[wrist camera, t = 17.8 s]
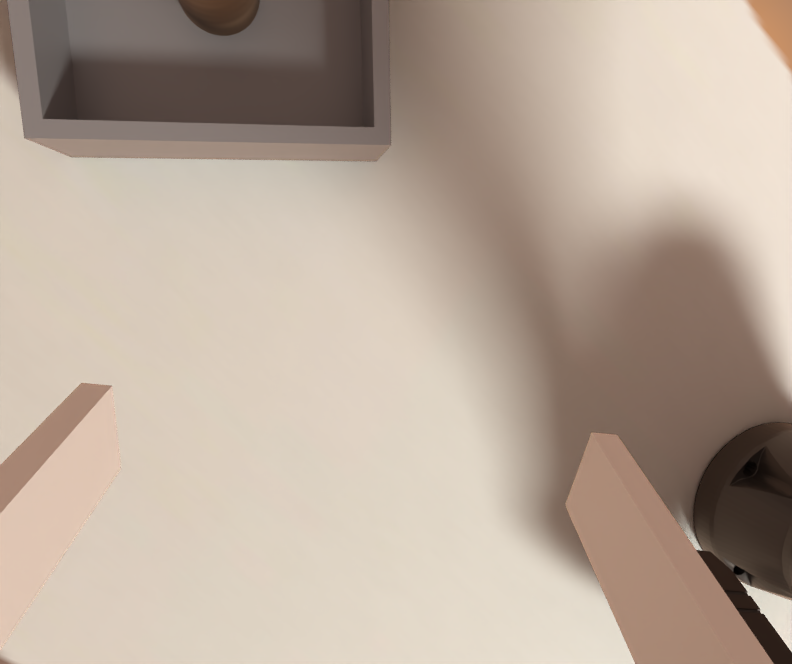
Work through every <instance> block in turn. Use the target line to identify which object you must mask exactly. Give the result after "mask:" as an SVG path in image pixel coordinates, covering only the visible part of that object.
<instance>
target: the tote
mask: <svg viewBox="0 0 792 664" xmlns="http://www.w3.org/2000/svg"><path fill="white" fill-rule="evenodd" d="M7 4H8V12H9V20H10V28H11V36H12V44H13V52H14V60H15V68H16V76H17V84H18V92H19V99H20V107H21V115H22V123H23V131H24V138H25V139H28V140H30V141H33V142H35V143H38V144H40V145H43V146H45V147H48V148H50V149H53V150H55V151H57V152H60V153H62V154H65V155H67V156H70V157H98V158H171V159H245V160H319V161H377V160H378V159H379V158H380V157H381V156H382V155H383V154H384V152H385V151H386V150H387V149H388V148H389V147H390V146H391V106H390V48H389V0H260V1H259V8H258V12H257V14H256V16H255V18H254V20H253V21H252V23H251V24H250V25H249V26H248V27H247V28H246V29H244V30H243V31H241V32H239V33H237V34H234V35H229V36H219V35H214V34H211V33H208V32H206V31H204V30H202V29H200V28H199V27H197V26H196V25H195V24H194V23H193V22H192V21H191V20H190V19H189V18H188V17H187V15H186V14H185V12H184V11H183V9H182V7H181V5H180V3H179V0H7Z"/></svg>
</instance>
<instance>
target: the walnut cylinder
mask: <svg viewBox="0 0 792 664" xmlns="http://www.w3.org/2000/svg"><path fill="white" fill-rule="evenodd" d="M259 1H260V0H179V3H180V5H181V7H182V9H183V11H184V12H185V14H186V15H187V17H188V18H189V19H190V20H191V21H192V22H193V23H194V24H195V25H196V26H197V27H199V28H200V29H202V30H204V31H206V32H208V33H211V34H214V35H219V36H229V35H234V34H237V33H239V32H241V31H243V30H244V29H246V28H247V27H248V26H249V25H250V24H251V23H252V21H253V20H254V18H255V16H256V14H257V12H258V8H259Z"/></svg>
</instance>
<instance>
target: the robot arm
mask: <svg viewBox="0 0 792 664" xmlns="http://www.w3.org/2000/svg"><path fill="white" fill-rule="evenodd" d="M120 470H121V462H120V453H119V444H118V435H117V426H116V417H115V408H114V399H113V390H112V386H108V385H98V384H88V383H81V384H80V385H79V386H78V387H77V388H76V389H75V390H74V391H73V392H72V393H71V394H70V395H69V396H68V397H67V398H66V399H65V400H64V401H63V402H62V403H61V404H60V405H59V406H58V407H57V408H56V409H55V410H54V411H53V412H52V413H51V414H50V415H49V416H48V417H47V418H46V419H45V420H44V421H43V423H42V424H41V425H40V426H39V427H38V428H37V429H36V430H35V431H34V432H33V433H32V434H31V435H30V436H29V437H28V438H27V439H26V440H25V441H24V442H23V443H22V444H21V445H20V446H19V447H18V448H17V449H16V450H15V451H14V452H13V453H12V454H11V455H10V456H9V457H8V458H7V459H6V460H5V461H4V462H3V463H2V464H1V465H0V650H1V649H2V647H3V646H4V644H5V643H6V641H7V640H8V638H9V637H10V635H11V634H12V632H13V631H14V629H15V628H16V626H17V625H18V623H19V622H20V620H21V619H22V617H23V616H24V614H25V613H26V611H27V610H28V608H29V607H30V605H31V604H32V602H33V601H34V599H35V598H36V596H37V595H38V593H39V591H40V590H41V588H42V587H43V585H44V584H45V582H46V581H47V579H48V578H49V576H50V575H51V573H52V572H53V570H54V569H55V567H56V566H57V564H58V563H59V561H60V560H61V558H62V557H63V555H64V554H65V552H66V551H67V549H68V548H69V546H70V545H71V543H72V542H73V540H74V539H75V537H76V536H77V534H78V533H79V531H80V530H81V528H82V527H83V525H84V524H85V522H86V521H87V519H88V518H89V516H90V515H91V513H92V512H93V510H94V509H95V507H96V506H97V504H98V503H99V501H100V500H101V498H102V497H103V495H104V494H105V492H106V491H107V489H108V488H109V486H110V485H111V483H112V482H113V480H114V479H115V477H116V476H117V474H118V473H119V471H120ZM565 507H566V509H567V511H568V513H569V516H570V518H571V520H572V522H573V525H574V527H575V529H576V531H577V534H578V536H579V538H580V540H581V543H582V545H583V547H584V549H585V552H586V554H587V556H588V558H589V561H590V563H591V565H592V567H593V570H594V572H595V574H596V576H597V579H598V581H599V583H600V585H601V588H602V590H603V592H604V594H605V597H606V599H607V601H608V603H609V606H610V608H611V610H612V612H613V614H614V617H615V619H616V621H617V623H618V626H619V628H620V630H621V632H622V635H623V637H624V639H625V641H626V644H627V646H628V648H629V650H630V653H631V655H632V657H633V659H634V662H635V664H792V652H791V651H790V650H789V648H788V647H787V645H786V644H785V643H784V641H783V640H782V639H781V637H780V636H779V635H778V633H777V632H776V630H775V629H774V628H773V626H772V625H771V624H770V622H769V621H768V619H767V618H766V617H765V615H764V614H761V613H760V608H759V607H758V606H757V604H756V603H755V602H754V600H753V599H752V597H751V596H748V595H747V591H746V589H745V588H744V586H743V585H742V584H741V582H743V583H745V584H747V585H749V586H752V587H755V588H758V589H761V590H763V591H766V592H769V593H772V594H775V595H778V596H780V597H783V598H786V599H789V600H792V424H790V423H780V422H777V423H768V424H763V425H760V426H757V427H754V428H751V429H749V430H747V431H745V432H743V433H742V434H740V435H739V436H737V437H736V438H734V439H733V440H732V441H730V442H729V443H728V444H727V445H726V446H725V447H724V448H723V449H722V450H721V451H720V452H719V453H718V454H717V456H716V457H715V458H714V459H713V461H712V462H711V464H710V465H709V467H708V468H707V470H706V472H705V474H704V476H703V478H702V480H701V483H700V485H699V488H698V492H697V496H696V500H695V507H694V524H695V530H696V534H697V538H698V541H699V543H700V545H701V547H702V549H703V551H700V550H696V549H695V548H694V546H693V545H692V543H691V542H690V540H689V539H688V538H687V536H686V535H685V533H684V532H683V530H682V529H681V527H680V526H679V524H678V523H677V521H676V520H675V518H674V517H673V516H672V514H671V513H670V511H669V510H668V508H667V507H666V505H665V504H664V502H663V501H662V499H661V498H660V497H659V495H658V494H657V492H656V491H655V489H654V488H653V486H652V485H651V483H650V482H649V480H648V479H647V478H646V476H645V475H644V473H643V472H642V470H641V469H640V467H639V466H638V464H637V463H636V461H635V460H634V459H633V457H632V456H631V454H630V453H629V451H628V450H627V448H626V447H625V445H624V444H623V442H622V441H621V439H620V438H619V437H618V435H615V434H605V433H594V432H591V435H590V438H589V441H588V443H587V446H586V449H585V452H584V454H583V457H582V460H581V463H580V465H579V468H578V471H577V474H576V476H575V479H574V482H573V485H572V487H571V490H570V493H569V496H568V498H567V501H566V504H565ZM740 581H741V582H740Z"/></svg>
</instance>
